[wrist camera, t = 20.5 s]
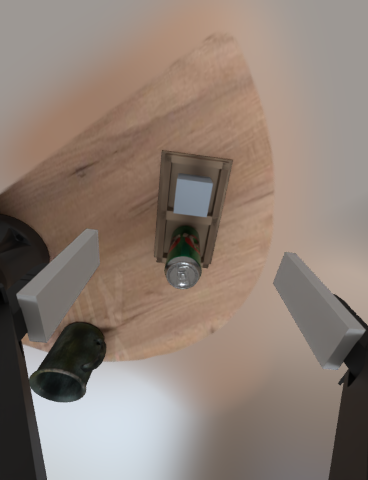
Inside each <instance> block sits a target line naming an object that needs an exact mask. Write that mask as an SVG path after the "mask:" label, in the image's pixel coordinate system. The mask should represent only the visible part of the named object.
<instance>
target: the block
mask: <svg viewBox="0 0 368 480" xmlns="http://www.w3.org/2000/svg"><path fill="white" fill-rule="evenodd" d="M212 186H213V183H212V180H211V178H210V177H205V176H198V175H190V174H183V173H179V174H178V178H177V185H176V194H175V203H174V212H173V213H177V214H184V215H192V216H200V217H207V213H208V208H209V202H210V197H211V192H212Z"/></svg>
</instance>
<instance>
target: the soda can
mask: <svg viewBox="0 0 368 480" xmlns="http://www.w3.org/2000/svg"><path fill="white" fill-rule="evenodd" d="M164 271H165V276H166V278H167V280H168V282H169V283H170V284H171V285H172V286H173V287H175V288H178V289H188V288H191V287H193V286H194V285H195V284H196V283H197V281H198V280H199V278H200V276H201V271H202V270H201V254H200V238H199V234H198V232H197V231H196V230H195V229H194V228H192V227H190V226H181V227H178V228H177V229H175V230H174V232H173V233H172V236H171V241H170V246H169V250H168V255H167V259H166V264H165V270H164Z"/></svg>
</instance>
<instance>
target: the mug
mask: <svg viewBox="0 0 368 480" xmlns="http://www.w3.org/2000/svg"><path fill="white" fill-rule="evenodd" d="M105 354H106V344H105V342H104V338H103V335H102V333H101V332H100V330H98V329H97V328H96V327H94V326H92V325H90V324H86V323H74V324H71V325H69V326H67V327H66V328H65V329H64V330H63V331H62V333H61V334H60V336H59V337H58V339H57V340H56V342H55V343H54V345H53V347H52V348H51V350H50V351H49V353H48V354H47V356H46V357H45V359H44V360H43V362H42V363H41V365H40V367H39V368H38V370H37V371H35V372H34V373H33V374H32V375H31V376H30V378H29V383H30V387H31V389H32V390H33V391H34V392H35V393H36V394H38V395H39V396H41V397H43V398H46V399H48V400H52V401H56V402H73V401H76V400H79V399H80V398H82V397H83V396H84V395H85V393H86V385H87V382H88V380H89V377H90V375H91V373H92V370H94V369H96V368H97V367H98V366H99V365H100V364H101V363H102V361H103V359H104V357H105Z"/></svg>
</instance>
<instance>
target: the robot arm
mask: <svg viewBox="0 0 368 480" xmlns="http://www.w3.org/2000/svg"><path fill="white" fill-rule="evenodd" d="M99 264H100V258H99V241H98V230H94V229H85V230H84V231H83V232H82V233H81V234H80V235H79V236H78V237H77V238H76V239H75V240H74V241H73V242H72V243H71V244H69V245H68V246H67V247H66V248H65V249H64V250H63V251H62V252H61V253H60V254H59V255H58V256H57V257H56V258H54V259H53V260H52V261H51V262H50V263H49V255H48V251H47V248H46V246H45V244H44V242H43V241H42V239H41V238H40V237H39V235H38V234H37V233H36V232H35V231H34V230H33V229H31V228H30V227H29V226H28V225H26V224H25V223H23V222H21V221H19V220H17V219H15V218H13V217H10V216H6V215H1V214H0V480H47V476H46V471H45V465H44V460H43V455H42V449H41V444H40V438H39V432H38V427H37V422H36V416H35V411H34V406H33V400H32V394H31V389H30V383H29V378H28V373H27V367H26V362H25V356H24V351H23V345H22V342H21V339H22V338H23V337H24V336H25V334H26V333H28V337H29V340H30V341H34V342H45V343H47V342H48V340H49V339H50V337H51V336H52V334H53V333H54V331H55V330H56V328H57V327H58V325H59V324H60V322H61V321H62V319H63V318H64V316H65V315H66V313H67V312H68V311H69V309H70V308H71V306H72V305H73V303H74V302H75V300H76V299H77V297H78V296H79V294H80V293H81V291H82V290H83V288H84V287H85V285H86V284H87V282H88V281H89V279H90V278H91V276H92V275H93V273H94V272H95V270H96V269H97V267H98V266H99ZM273 284H274V286H275V287H276V289H277V291H278V293H279V294H280V296H281V298H282V299H283V301H284V303H285V305H286V306H287V308H288V310H289V312H290V313H291V315H292V317H293V318H294V320H295V322H296V323H297V325H298V327H299V329H300V331H301V332H302V334H303V336H304V337H305V339H306V341H307V342H308V344H309V346H310V348H311V349H312V351H313V353H314V355H315V356H316V358H317V360H318V362H319V363H320V365H321V367H322V368H323V369H333V370H338V368H339V367H340V366H341V364H342V363H343V362H344V363H345V364H346V366H347V367H348V368H349V369H348V370H347V372H346V373H345V375H344V376H343V377H342V378H341V380H340V381H339V383H338V384H339V385H341V384H342V383H344V384H343V391H342V397H341V403H340V410H339V417H338V423H337V429H336V435H335V442H334V449H333V455H332V462H331V467H330V474H329V480H368V326H367V324H366V323H365V322H364V321H363V320H362V319H361V318H360V317H359V316H358V315H356V313H355V312H354V311H353V310H352V309H351V308H350V306H348V304H347V303H346V302H345V301H344V300H342V299H341V298H339V297H338V296H337V295H335V294H332V293H331V291H330V290H329V289H328V288H327V287H326V286H325V285H324V284H323V283H322V282H321V281H320V279H319V278H318V277H317V276H316V275H315V274H314V273H313V272H312V271H311V270H310V269H309V267H307V265H306V264H305V263H304V262H303V261H302V260H301V259H300V258H299V257H298V256H297V254H296V253H289V252H285V253H284V256H283V259H282V261H281V264H280V266H279V269H278V271H277V274H276V277H275V279H274V282H273Z"/></svg>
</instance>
